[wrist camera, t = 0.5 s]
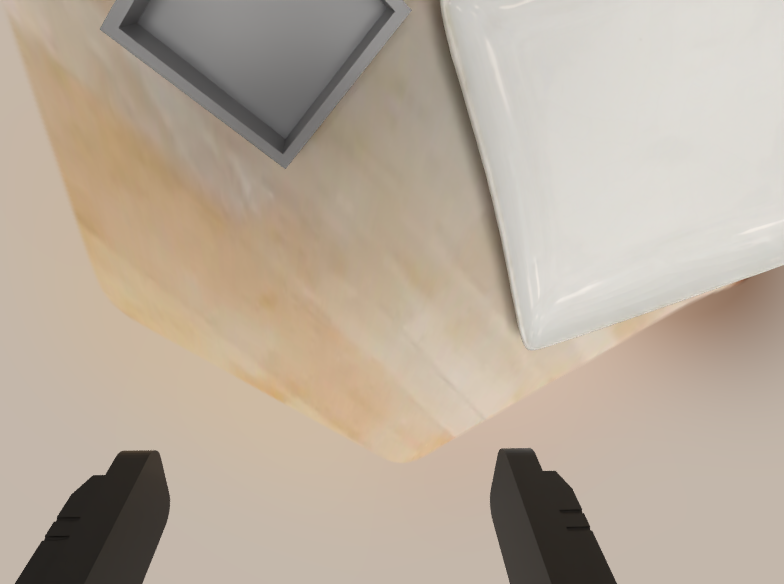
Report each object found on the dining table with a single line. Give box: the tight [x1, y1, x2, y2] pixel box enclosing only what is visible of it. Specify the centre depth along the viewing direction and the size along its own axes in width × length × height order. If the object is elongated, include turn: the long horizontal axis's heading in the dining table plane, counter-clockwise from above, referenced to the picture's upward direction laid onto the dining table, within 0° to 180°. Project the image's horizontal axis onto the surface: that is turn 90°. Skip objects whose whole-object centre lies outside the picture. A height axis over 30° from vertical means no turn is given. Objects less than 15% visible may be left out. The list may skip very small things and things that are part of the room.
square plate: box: [440, 0, 784, 350], centre depth 33 cm, size 27×27×4 cm
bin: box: [100, 0, 412, 169], centre depth 25 cm, size 11×11×4 cm
